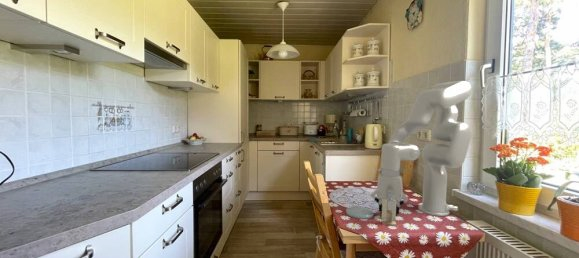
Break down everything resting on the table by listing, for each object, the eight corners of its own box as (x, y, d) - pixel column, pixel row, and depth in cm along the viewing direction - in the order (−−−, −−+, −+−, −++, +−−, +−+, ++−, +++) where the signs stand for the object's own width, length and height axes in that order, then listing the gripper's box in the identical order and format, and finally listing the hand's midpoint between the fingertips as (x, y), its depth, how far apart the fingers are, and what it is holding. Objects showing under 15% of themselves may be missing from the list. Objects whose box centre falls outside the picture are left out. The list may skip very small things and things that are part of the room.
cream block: (395, 216, 115) (395, 196, 115) (395, 221, 110) (396, 199, 110) (381, 214, 117) (382, 194, 117) (381, 219, 112) (382, 198, 112)
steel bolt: (393, 197, 106) (393, 190, 106) (394, 210, 91) (395, 202, 91) (386, 196, 107) (387, 189, 107) (387, 210, 92) (387, 201, 92)
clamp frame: (393, 211, 121) (394, 189, 120) (395, 226, 105) (396, 200, 104) (382, 210, 123) (383, 188, 122) (382, 224, 107) (383, 198, 106)
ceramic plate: (374, 211, 121) (374, 208, 121) (373, 220, 110) (373, 218, 110) (347, 207, 125) (347, 205, 125) (344, 216, 114) (344, 214, 114)
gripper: (368, 172, 112) (367, 214, 113) (413, 176, 106) (411, 220, 107) (369, 169, 119) (368, 208, 120) (411, 172, 113) (409, 214, 114)
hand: (388, 213), depth 114 cm, fingers closed on cream block, 5 cm apart
